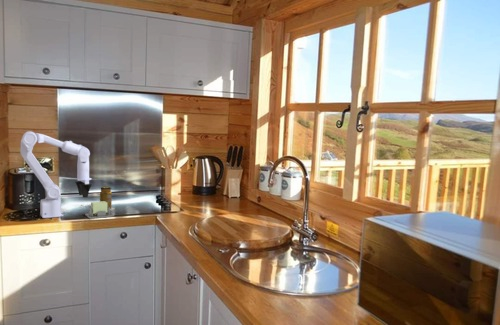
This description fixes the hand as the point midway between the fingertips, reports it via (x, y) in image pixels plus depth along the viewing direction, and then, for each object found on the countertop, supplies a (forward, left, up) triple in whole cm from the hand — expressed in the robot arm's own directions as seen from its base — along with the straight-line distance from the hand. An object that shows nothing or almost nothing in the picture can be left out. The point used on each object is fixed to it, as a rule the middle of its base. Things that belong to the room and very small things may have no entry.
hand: (83, 196), depth 216 cm
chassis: (+6, -8, -9) cm, 14 cm away
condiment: (+14, +8, -10) cm, 19 cm away
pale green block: (+6, -8, -7) cm, 12 cm away
